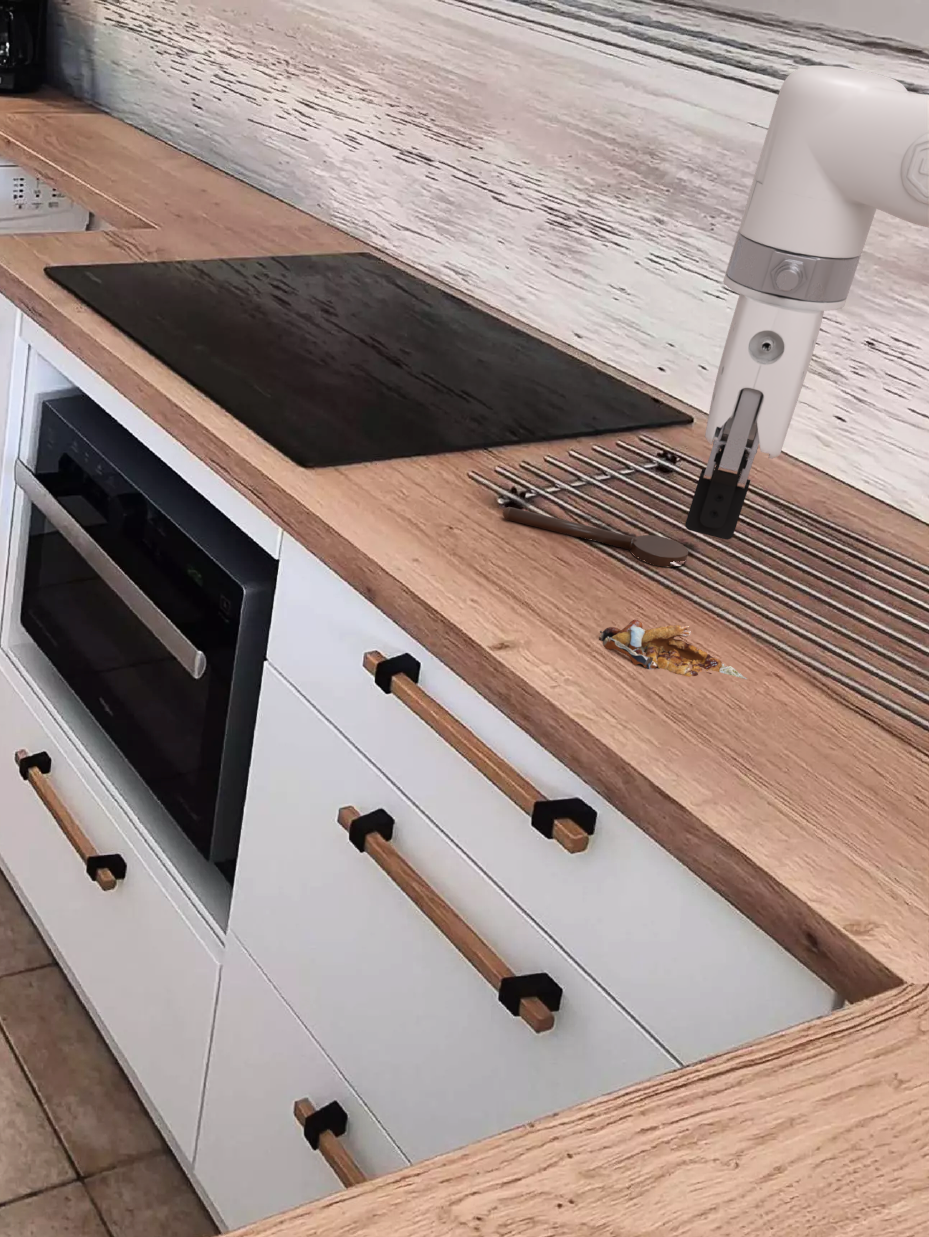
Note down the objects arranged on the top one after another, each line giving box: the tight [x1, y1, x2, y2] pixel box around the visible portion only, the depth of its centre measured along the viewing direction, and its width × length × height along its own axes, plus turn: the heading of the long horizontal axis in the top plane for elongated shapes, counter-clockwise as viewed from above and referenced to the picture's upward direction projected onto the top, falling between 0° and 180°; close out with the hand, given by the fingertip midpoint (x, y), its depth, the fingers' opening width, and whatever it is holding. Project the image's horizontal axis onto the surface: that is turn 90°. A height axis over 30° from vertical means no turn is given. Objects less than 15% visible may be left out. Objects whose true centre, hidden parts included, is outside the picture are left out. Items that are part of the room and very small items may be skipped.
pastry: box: [598, 619, 748, 681], centre depth 129 cm, size 7×12×4 cm, turn 73°
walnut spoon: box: [502, 506, 689, 567], centre depth 152 cm, size 16×5×1 cm, turn 66°
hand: (708, 530), depth 117 cm, fingers closed
